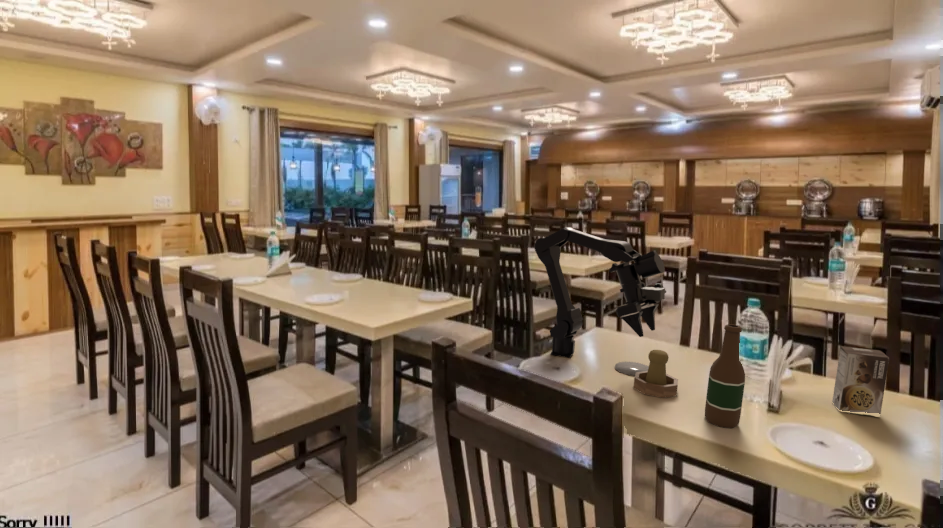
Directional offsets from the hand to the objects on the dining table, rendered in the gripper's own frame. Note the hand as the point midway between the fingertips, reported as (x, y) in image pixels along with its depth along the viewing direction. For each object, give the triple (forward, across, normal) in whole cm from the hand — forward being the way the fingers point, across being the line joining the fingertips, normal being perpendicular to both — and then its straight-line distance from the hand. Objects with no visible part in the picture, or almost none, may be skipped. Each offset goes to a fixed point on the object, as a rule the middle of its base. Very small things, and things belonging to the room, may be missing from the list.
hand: (647, 333), depth 154 cm
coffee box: (+33, +16, -40) cm, 54 cm away
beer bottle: (+23, -16, -18) cm, 33 cm away
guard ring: (+14, -8, 0) cm, 16 cm away
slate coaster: (+10, +3, +9) cm, 14 cm away
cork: (+15, -8, 0) cm, 17 cm away
